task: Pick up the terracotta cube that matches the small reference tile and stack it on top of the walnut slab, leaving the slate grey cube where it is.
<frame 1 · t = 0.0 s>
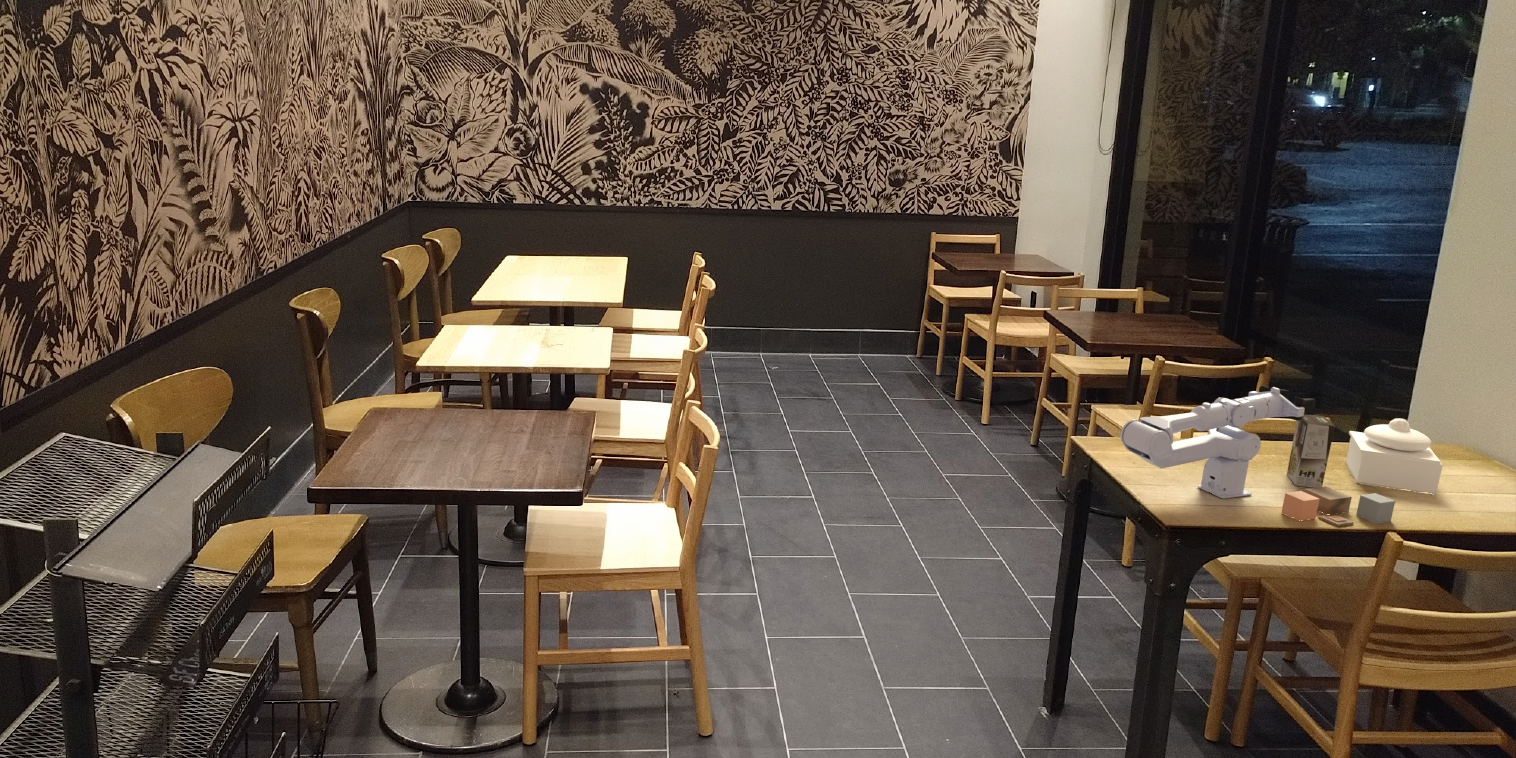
hand: (1300, 398, 267), 22 cm above the table, tool horizontal, fingers open, 7 cm apart
reference tile: (1335, 521, 250), on the table
slate cube: (1373, 518, 254), on the table
coffee box: (1303, 482, 276), on the table
walnut slab: (1324, 509, 258), on the table
butter dish: (1387, 479, 283), on the table
terracotta cube: (1298, 516, 252), on the table
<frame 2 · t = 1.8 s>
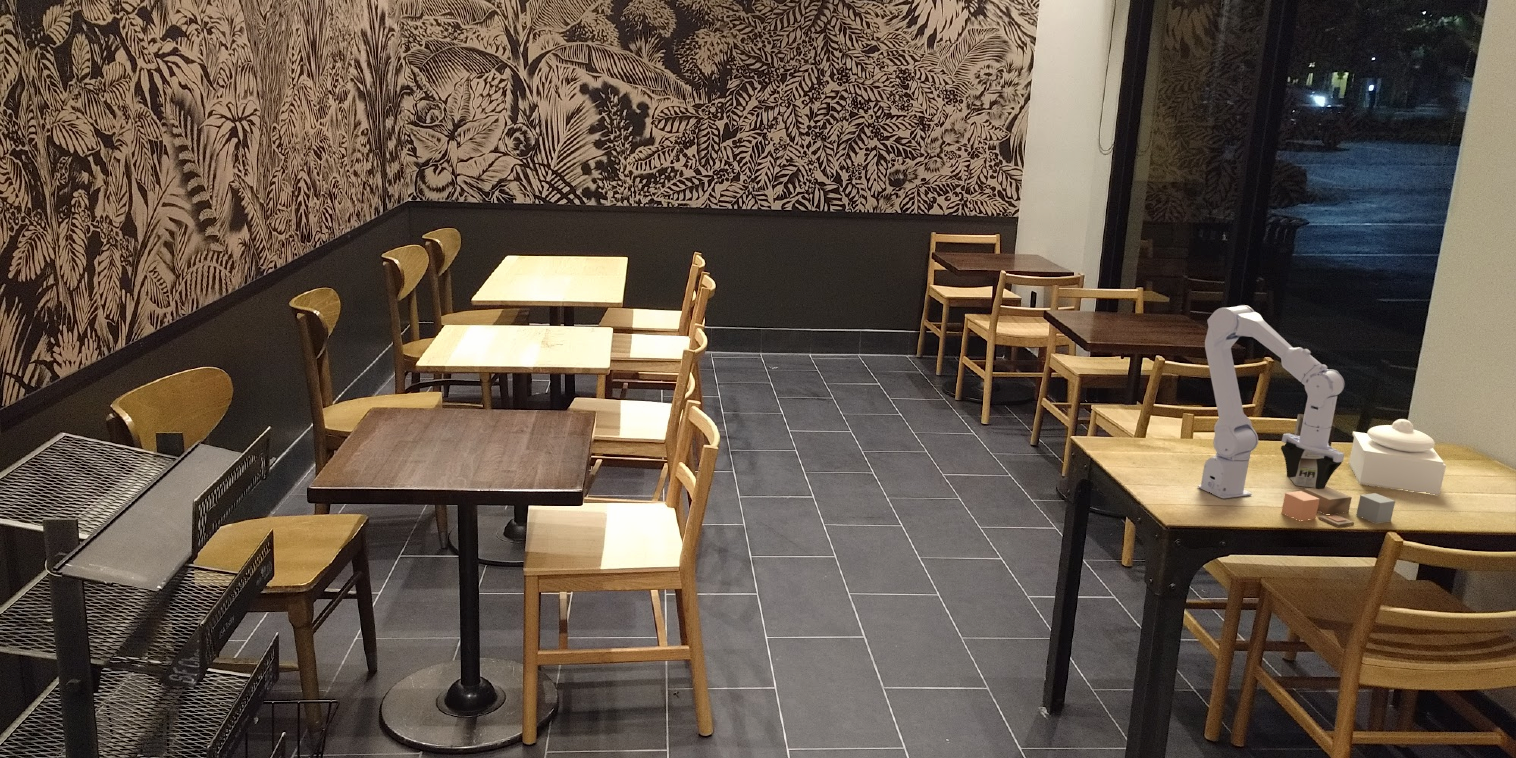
hand: (1305, 482, 250), 8 cm above the table, tool pointing down, fingers open, 7 cm apart
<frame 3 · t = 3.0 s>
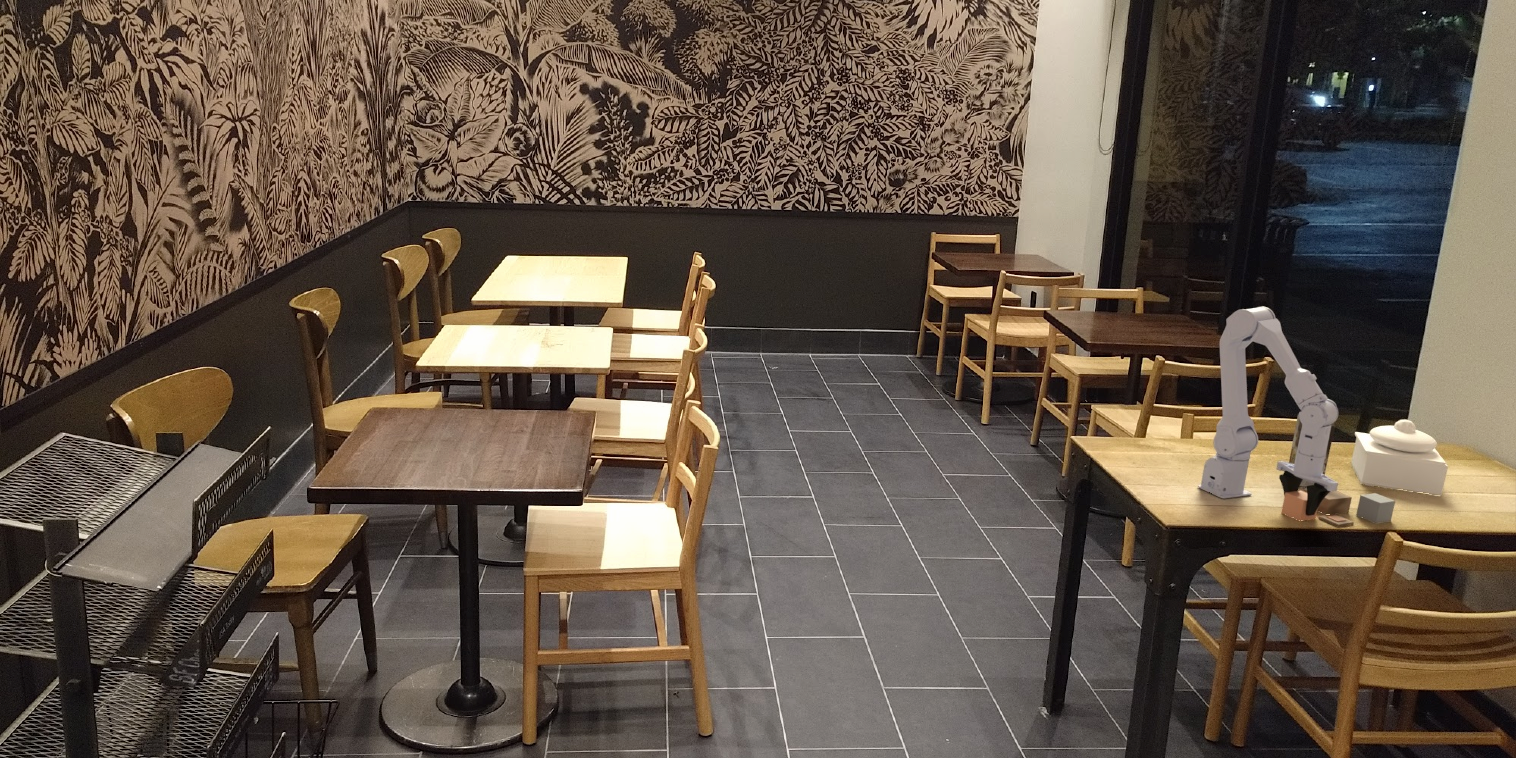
hand: (1299, 510, 251), 1 cm above the table, tool pointing down, fingers closed on terracotta cube, 5 cm apart
terracotta cube: (1298, 516, 252), on the table, touching gripper
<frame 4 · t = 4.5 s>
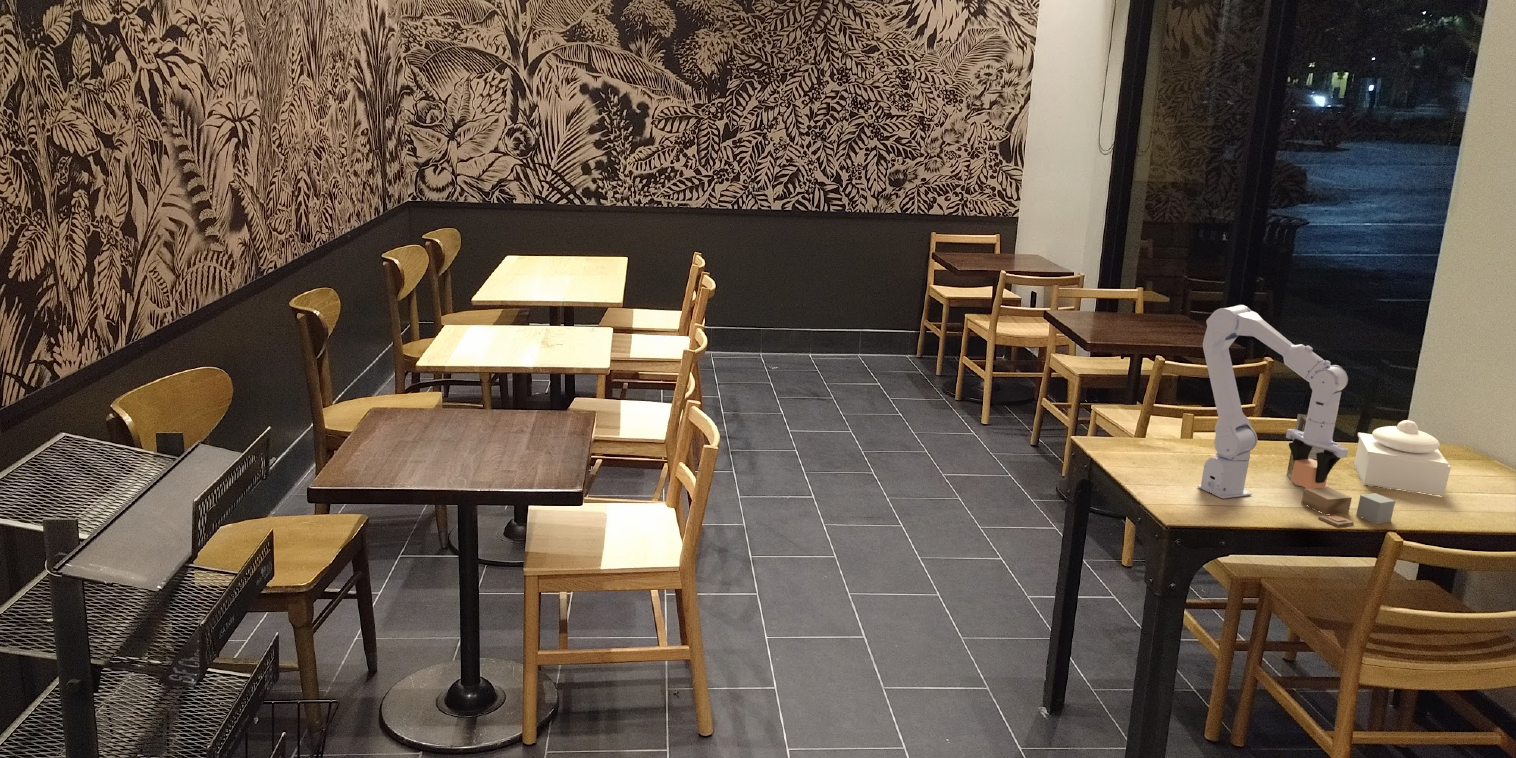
hand: (1309, 478, 250), 9 cm above the table, tool pointing down, fingers closed on terracotta cube, 5 cm apart
terracotta cube: (1307, 484, 251), point 7 cm above the table, touching gripper
when the fingers open (6 cm above the table, at t = 6.1 s): terracotta cube drops 1 cm, resting on walnut slab.
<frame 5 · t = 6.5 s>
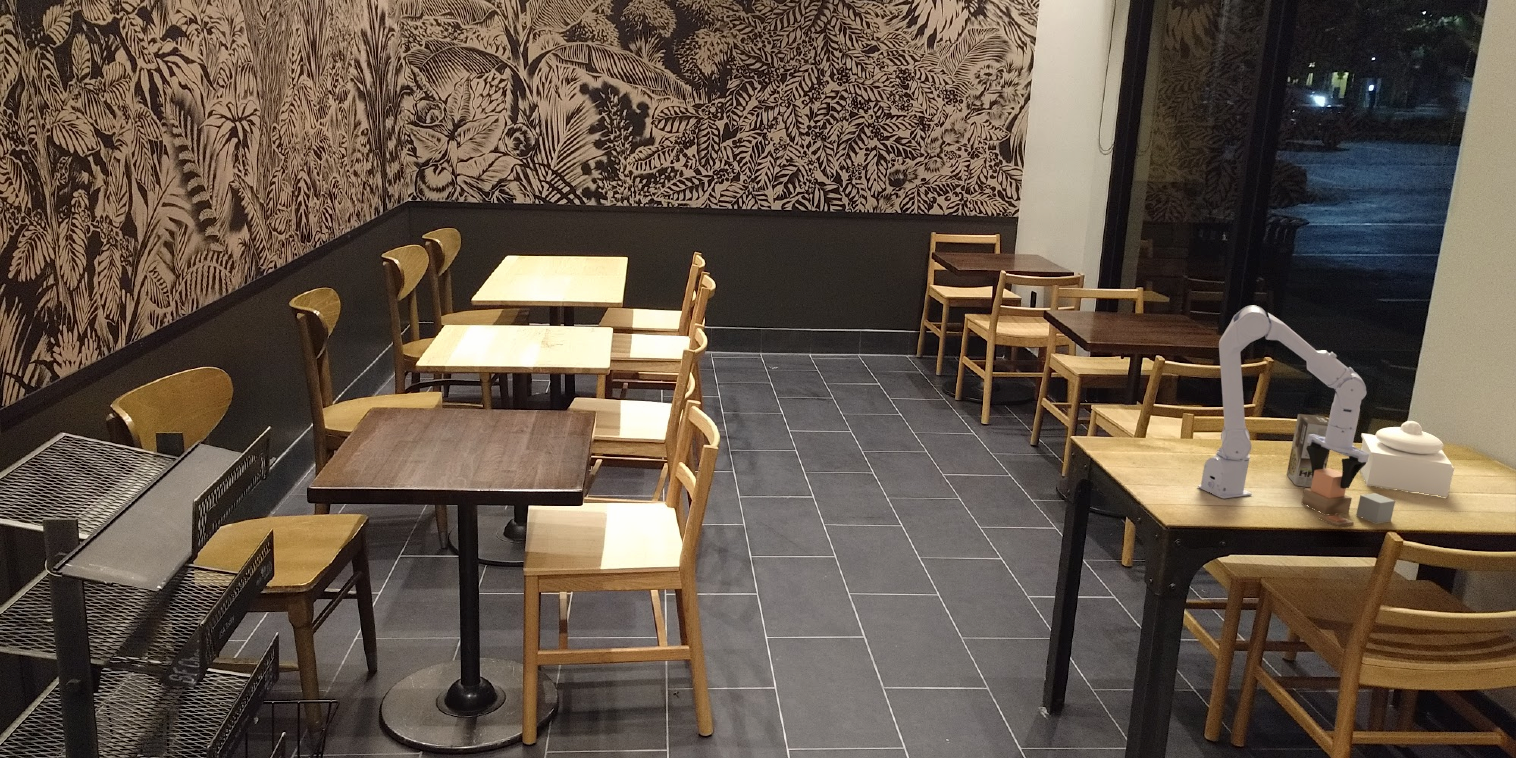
hand: (1330, 481, 256), 6 cm above the table, tool pointing down, fingers open, 7 cm apart
walnut slab: (1324, 509, 258), on the table, touching terracotta cube
terracotta cube: (1327, 493, 257), point 4 cm above the table, touching walnut slab
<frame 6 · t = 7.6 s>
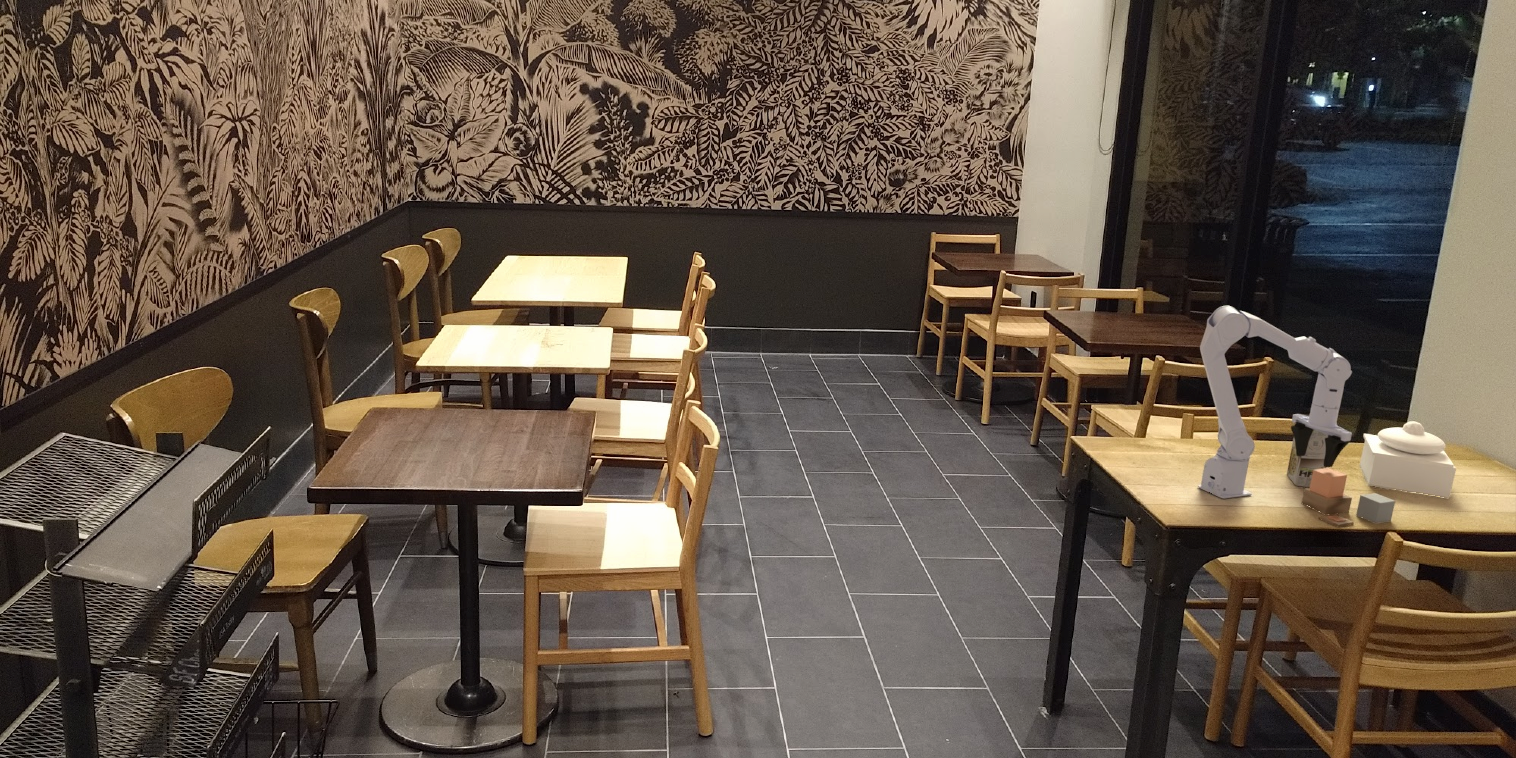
hand: (1313, 461, 260), 10 cm above the table, tool pointing down, fingers open, 7 cm apart
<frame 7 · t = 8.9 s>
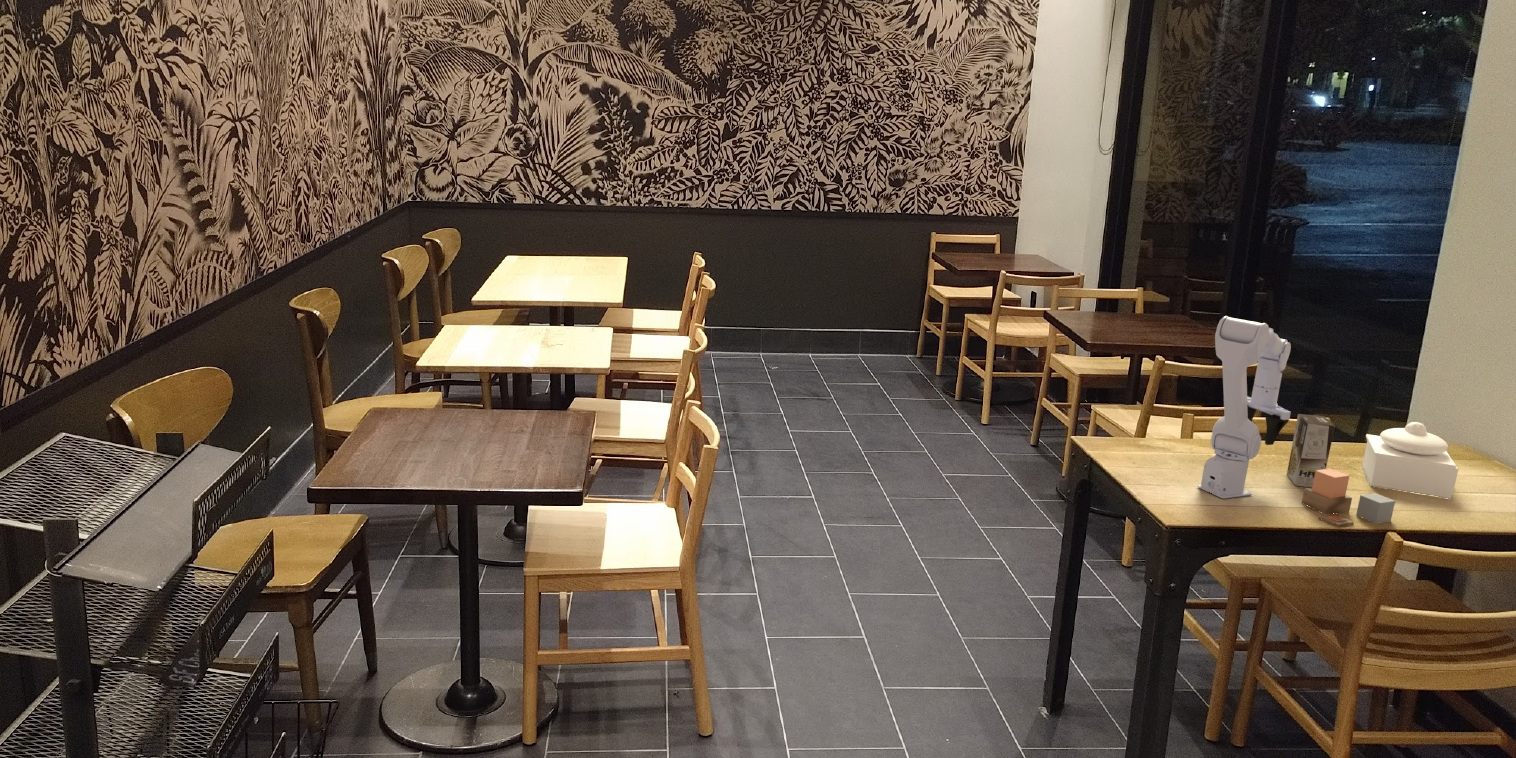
hand: (1256, 439, 273), 10 cm above the table, tool pointing down, fingers open, 7 cm apart
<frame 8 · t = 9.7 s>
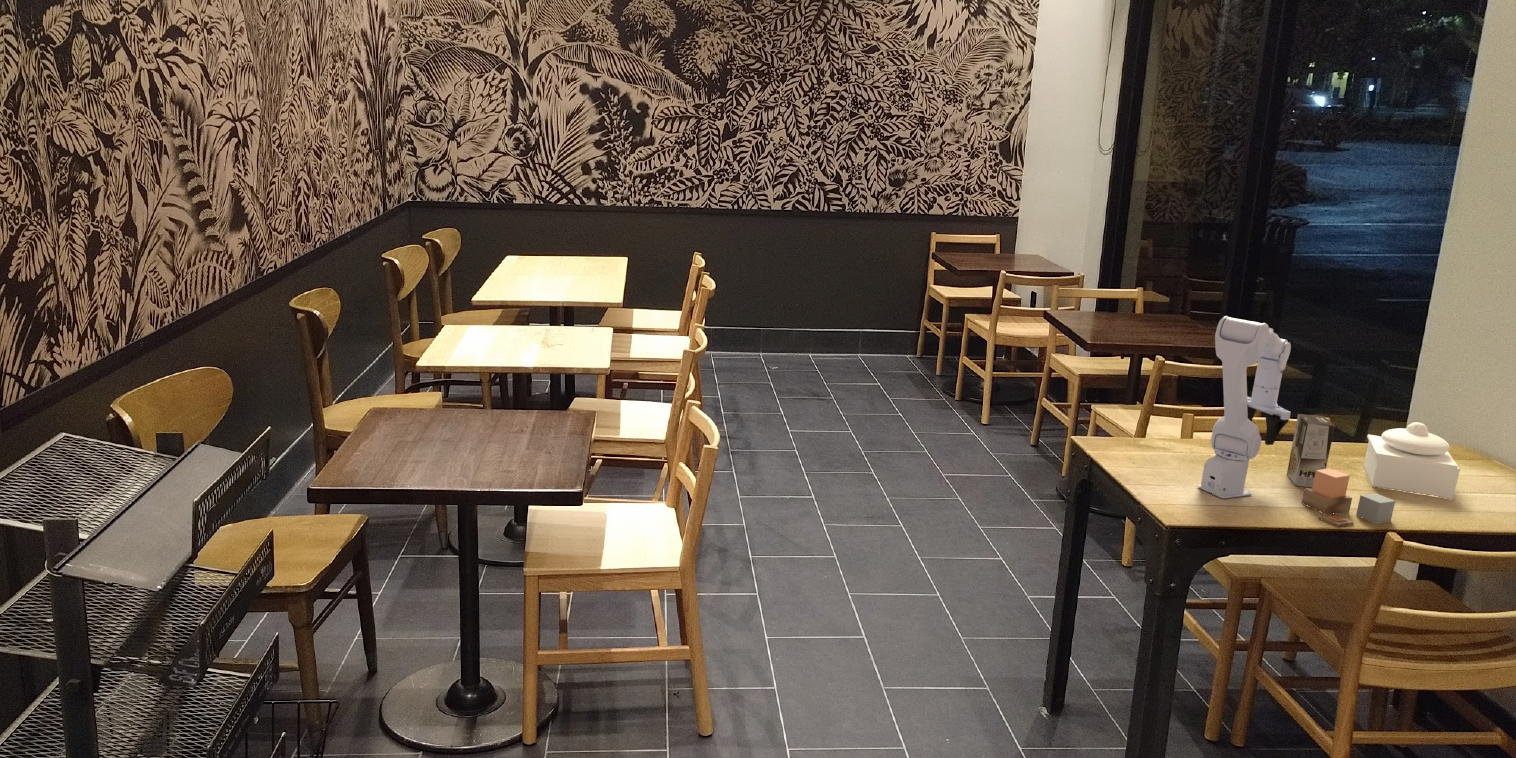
hand: (1256, 439, 273), 10 cm above the table, tool pointing down, fingers open, 7 cm apart
at the end: terracotta cube 0.1 cm off-centre on the walnut slab, point 4.0 cm above the walnut slab's base; terracotta cube tilted 0°; the gripper is holding nothing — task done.
